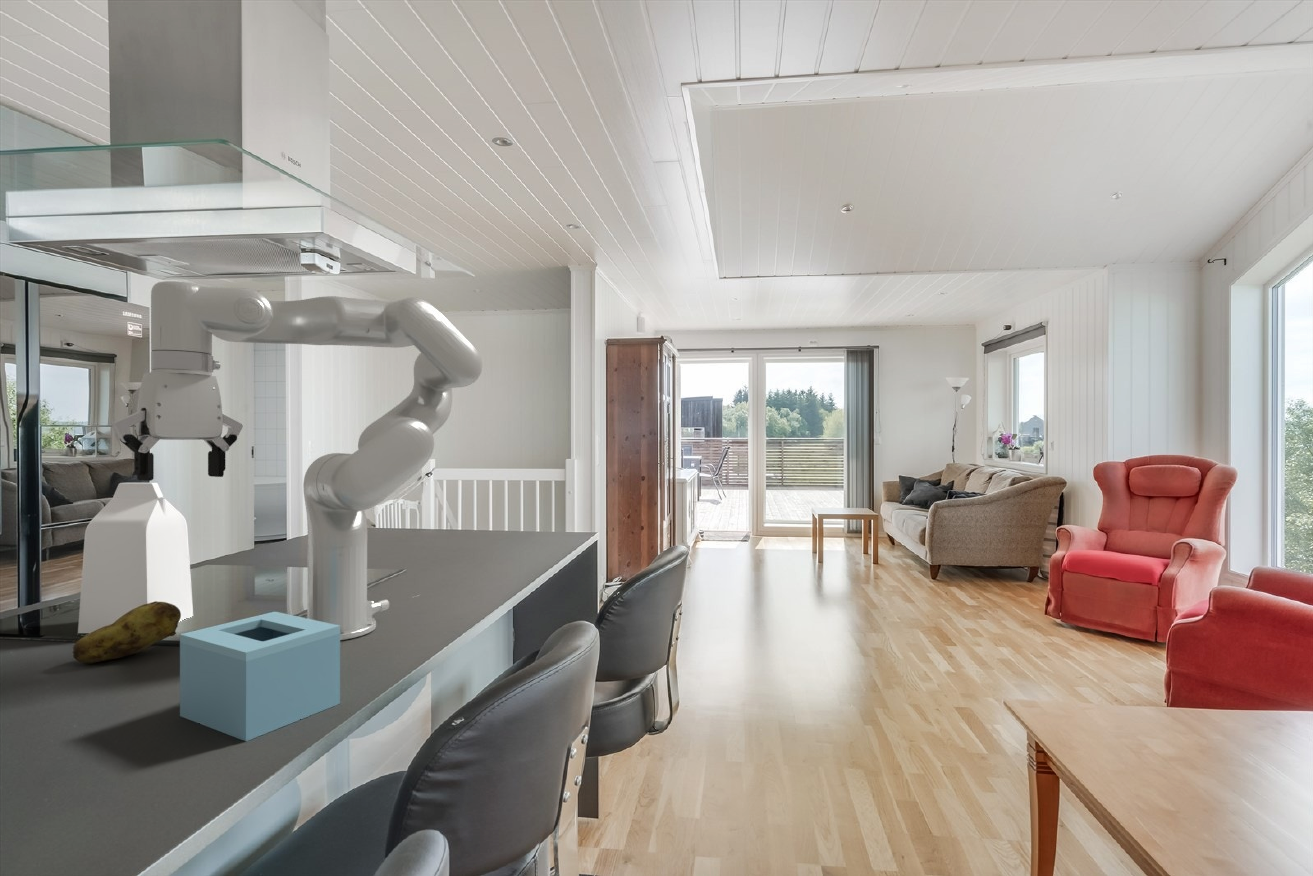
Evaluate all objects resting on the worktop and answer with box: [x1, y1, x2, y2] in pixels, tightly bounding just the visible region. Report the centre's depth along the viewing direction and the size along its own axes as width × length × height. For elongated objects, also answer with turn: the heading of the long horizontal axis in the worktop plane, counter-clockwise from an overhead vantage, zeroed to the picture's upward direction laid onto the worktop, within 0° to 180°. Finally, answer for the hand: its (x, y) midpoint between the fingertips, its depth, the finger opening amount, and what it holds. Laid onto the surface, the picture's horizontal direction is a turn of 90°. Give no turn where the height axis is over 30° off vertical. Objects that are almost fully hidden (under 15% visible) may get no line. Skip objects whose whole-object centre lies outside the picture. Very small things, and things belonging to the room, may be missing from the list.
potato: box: [72, 601, 181, 665], centre depth 103 cm, size 8×13×8 cm, turn 120°
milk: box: [77, 482, 194, 634], centre depth 120 cm, size 12×12×26 cm
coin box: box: [179, 611, 341, 742], centre depth 84 cm, size 12×14×10 cm
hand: (182, 478), depth 100 cm, fingers open, 9 cm apart
